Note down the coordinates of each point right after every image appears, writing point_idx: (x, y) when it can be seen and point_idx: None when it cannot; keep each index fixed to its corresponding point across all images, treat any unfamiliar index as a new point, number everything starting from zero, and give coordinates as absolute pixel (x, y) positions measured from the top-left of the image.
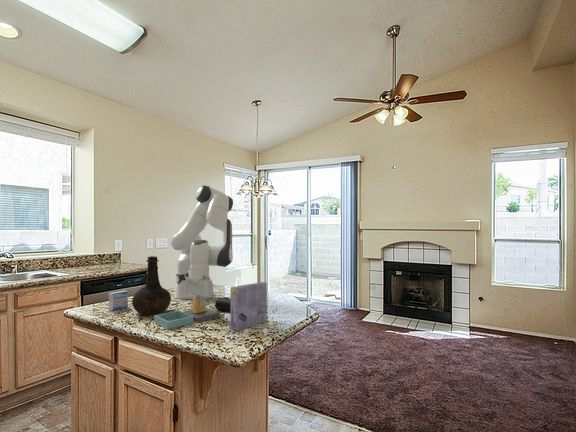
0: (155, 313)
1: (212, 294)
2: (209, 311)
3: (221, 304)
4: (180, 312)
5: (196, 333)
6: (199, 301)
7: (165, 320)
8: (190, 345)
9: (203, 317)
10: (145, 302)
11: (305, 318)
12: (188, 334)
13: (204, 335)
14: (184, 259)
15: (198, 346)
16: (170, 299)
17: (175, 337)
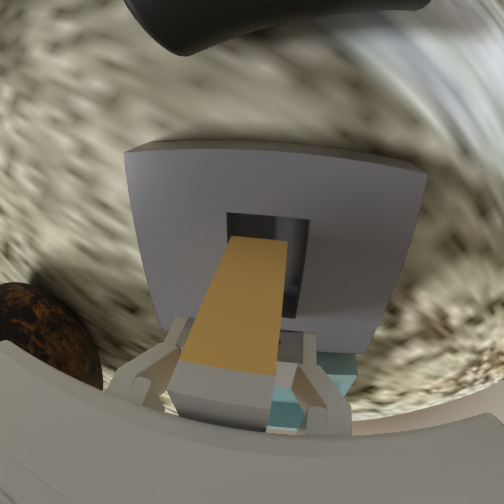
0: (94, 346)
1: (502, 441)
2: (311, 205)
3: (281, 15)
4: None
5: (440, 367)
6: (287, 387)
7: (292, 429)
8: (465, 394)
9: (381, 310)
10: None
11: None
12: (419, 383)
13: (474, 357)
14: None
15: (485, 385)
16: (29, 327)
17: (395, 405)
